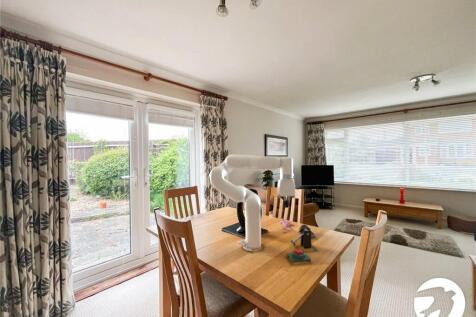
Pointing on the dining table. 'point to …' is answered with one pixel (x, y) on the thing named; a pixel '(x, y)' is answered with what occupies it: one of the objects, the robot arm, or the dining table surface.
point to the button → (298, 251)
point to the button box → (298, 257)
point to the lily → (287, 224)
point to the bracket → (306, 238)
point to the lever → (297, 238)
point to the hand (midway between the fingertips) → (286, 207)
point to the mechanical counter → (308, 229)
